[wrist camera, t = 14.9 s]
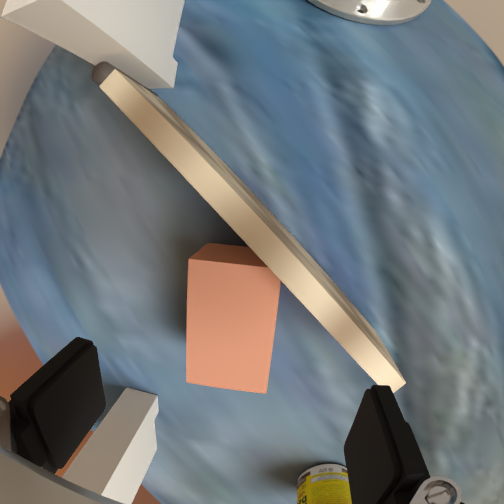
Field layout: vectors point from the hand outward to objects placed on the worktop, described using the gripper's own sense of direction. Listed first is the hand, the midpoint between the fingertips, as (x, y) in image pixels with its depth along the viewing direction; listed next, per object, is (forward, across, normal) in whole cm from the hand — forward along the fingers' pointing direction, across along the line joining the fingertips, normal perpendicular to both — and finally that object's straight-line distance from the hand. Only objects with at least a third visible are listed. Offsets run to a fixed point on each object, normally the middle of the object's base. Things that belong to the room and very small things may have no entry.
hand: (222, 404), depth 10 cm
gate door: (+13, 0, -5) cm, 14 cm away
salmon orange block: (+13, +1, +2) cm, 13 cm away
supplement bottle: (+12, -9, +20) cm, 25 cm away
